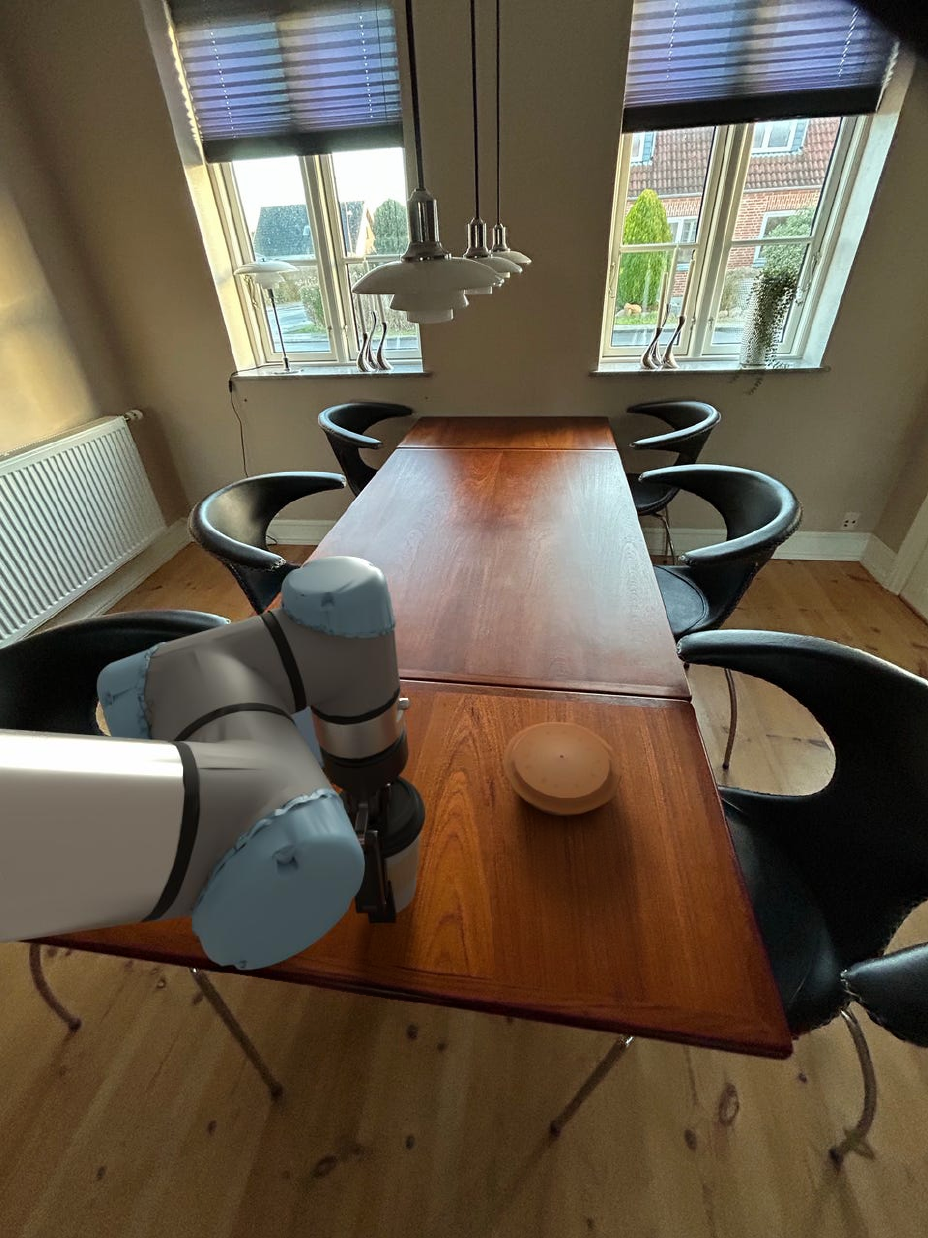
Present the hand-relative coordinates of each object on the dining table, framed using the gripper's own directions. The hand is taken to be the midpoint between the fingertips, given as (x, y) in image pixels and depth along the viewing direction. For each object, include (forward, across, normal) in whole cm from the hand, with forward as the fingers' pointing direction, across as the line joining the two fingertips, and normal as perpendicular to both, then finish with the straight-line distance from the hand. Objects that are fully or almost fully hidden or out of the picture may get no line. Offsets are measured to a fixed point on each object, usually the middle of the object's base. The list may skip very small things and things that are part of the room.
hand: (388, 878), depth 58 cm
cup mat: (+4, +26, +19) cm, 32 cm away
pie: (+3, +15, -21) cm, 26 cm away
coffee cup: (+2, 0, 0) cm, 2 cm away
